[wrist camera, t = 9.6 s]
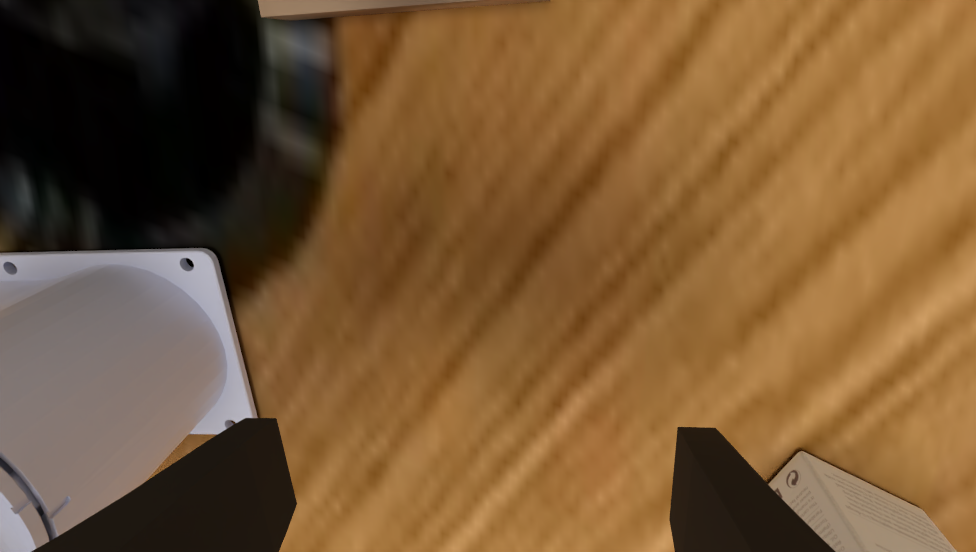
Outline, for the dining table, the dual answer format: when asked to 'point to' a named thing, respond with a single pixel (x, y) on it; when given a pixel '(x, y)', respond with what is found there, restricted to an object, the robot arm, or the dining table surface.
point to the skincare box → (854, 510)
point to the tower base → (362, 7)
